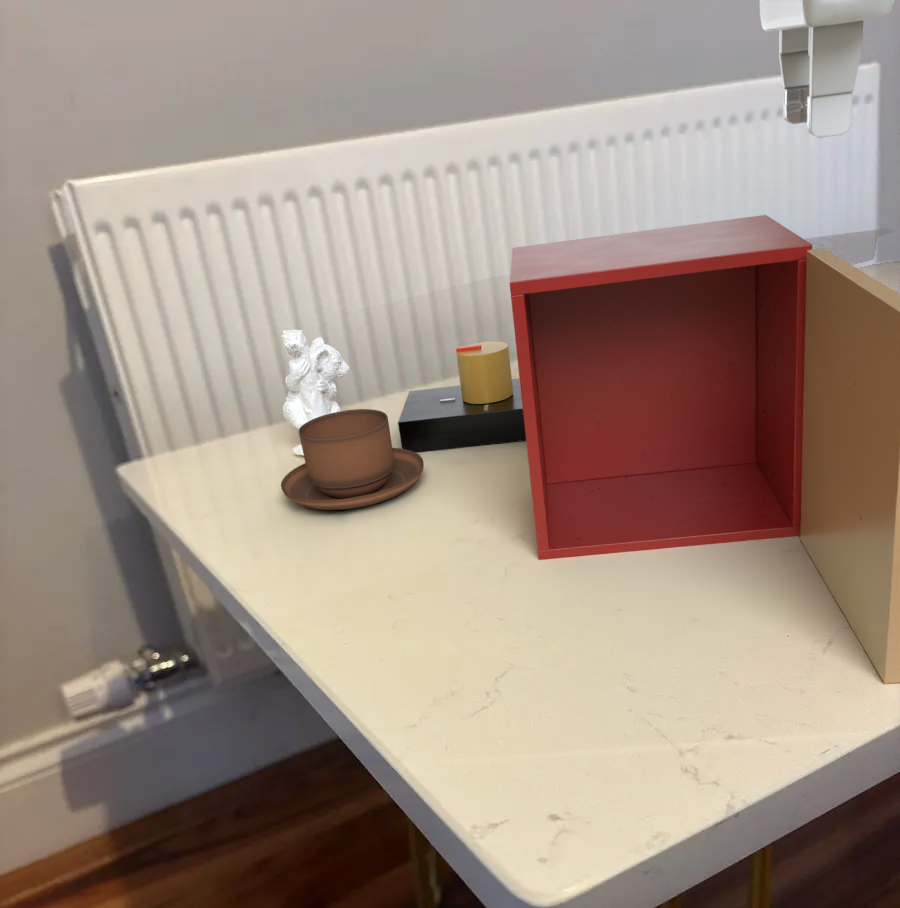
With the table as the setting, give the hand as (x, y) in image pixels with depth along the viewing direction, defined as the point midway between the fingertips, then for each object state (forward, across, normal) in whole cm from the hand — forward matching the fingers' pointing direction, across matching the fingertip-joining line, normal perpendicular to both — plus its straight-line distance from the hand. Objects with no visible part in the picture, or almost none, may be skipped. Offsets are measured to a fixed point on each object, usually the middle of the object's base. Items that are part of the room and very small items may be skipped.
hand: (813, 128), depth 53 cm
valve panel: (+25, -32, -26) cm, 49 cm away
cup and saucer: (+25, -18, -34) cm, 46 cm away
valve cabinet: (+25, -10, -9) cm, 28 cm away
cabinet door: (+25, +5, +5) cm, 26 cm away
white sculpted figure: (+25, -29, -40) cm, 55 cm away
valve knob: (+22, -33, -24) cm, 46 cm away
